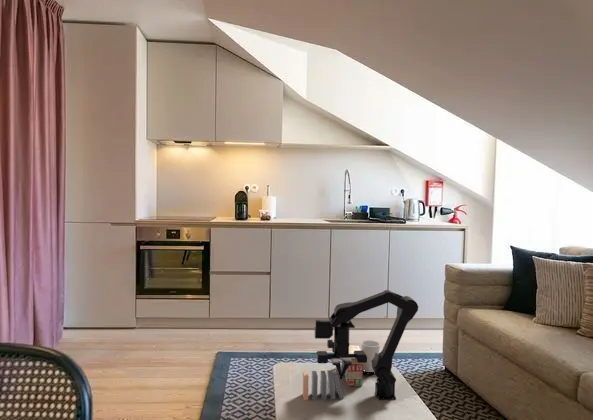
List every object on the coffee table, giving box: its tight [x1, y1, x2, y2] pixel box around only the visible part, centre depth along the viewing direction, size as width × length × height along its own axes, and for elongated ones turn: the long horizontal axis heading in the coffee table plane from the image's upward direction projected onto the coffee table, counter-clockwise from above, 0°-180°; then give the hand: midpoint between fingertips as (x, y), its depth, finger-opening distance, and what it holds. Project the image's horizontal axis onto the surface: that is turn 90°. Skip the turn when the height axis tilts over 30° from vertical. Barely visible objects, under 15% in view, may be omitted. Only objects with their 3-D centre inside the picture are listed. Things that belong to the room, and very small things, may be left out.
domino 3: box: [319, 370, 328, 400], centre depth 171 cm, size 2×5×9 cm, turn 5°
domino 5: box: [332, 369, 345, 400], centre depth 172 cm, size 2×5×9 cm, turn 5°
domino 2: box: [311, 370, 319, 401], centre depth 171 cm, size 2×5×9 cm, turn 5°
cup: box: [360, 339, 381, 372], centre depth 196 cm, size 8×8×12 cm
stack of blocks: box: [344, 344, 364, 387], centre depth 191 cm, size 21×6×12 cm, turn 0°
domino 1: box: [302, 370, 309, 401], centre depth 171 cm, size 2×5×9 cm, turn 5°
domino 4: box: [326, 369, 336, 400], centre depth 172 cm, size 2×5×9 cm, turn 5°
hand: (340, 378), depth 172 cm, fingers closed
